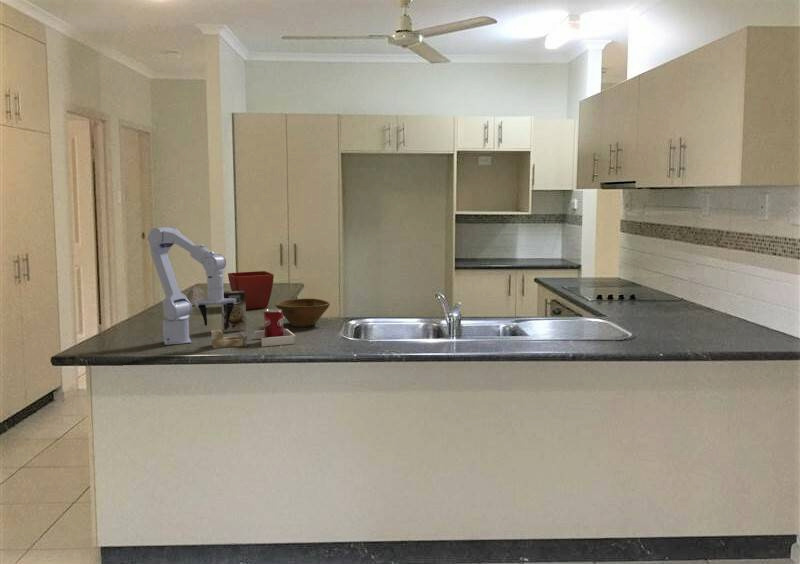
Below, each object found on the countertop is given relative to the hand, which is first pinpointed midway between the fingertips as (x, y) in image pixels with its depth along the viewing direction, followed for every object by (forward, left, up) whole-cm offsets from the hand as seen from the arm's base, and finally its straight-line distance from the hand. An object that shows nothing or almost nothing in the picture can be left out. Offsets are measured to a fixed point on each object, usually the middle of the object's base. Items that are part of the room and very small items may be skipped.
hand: (216, 324), depth 252 cm
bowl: (+40, +27, -9) cm, 49 cm away
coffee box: (+11, +28, -9) cm, 31 cm away
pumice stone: (+1, +102, -9) cm, 102 cm away
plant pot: (+28, +83, -9) cm, 88 cm away
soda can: (+21, 0, -9) cm, 23 cm away
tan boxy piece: (+4, 0, -8) cm, 9 cm away
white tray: (+22, 0, -8) cm, 23 cm away
